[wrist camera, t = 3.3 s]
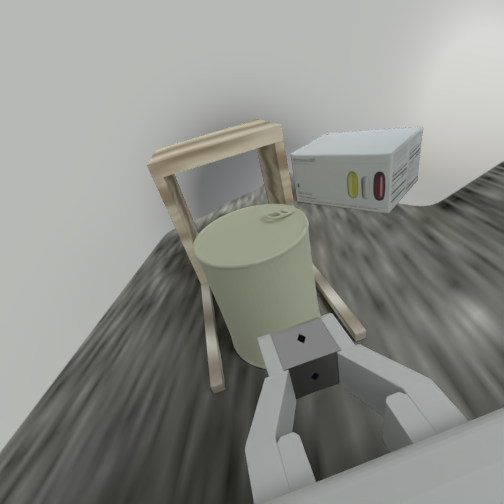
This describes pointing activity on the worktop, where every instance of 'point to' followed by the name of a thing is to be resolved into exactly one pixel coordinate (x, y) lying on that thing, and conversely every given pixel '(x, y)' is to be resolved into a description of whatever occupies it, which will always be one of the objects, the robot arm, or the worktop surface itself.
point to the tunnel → (278, 192)
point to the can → (259, 272)
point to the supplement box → (358, 168)
